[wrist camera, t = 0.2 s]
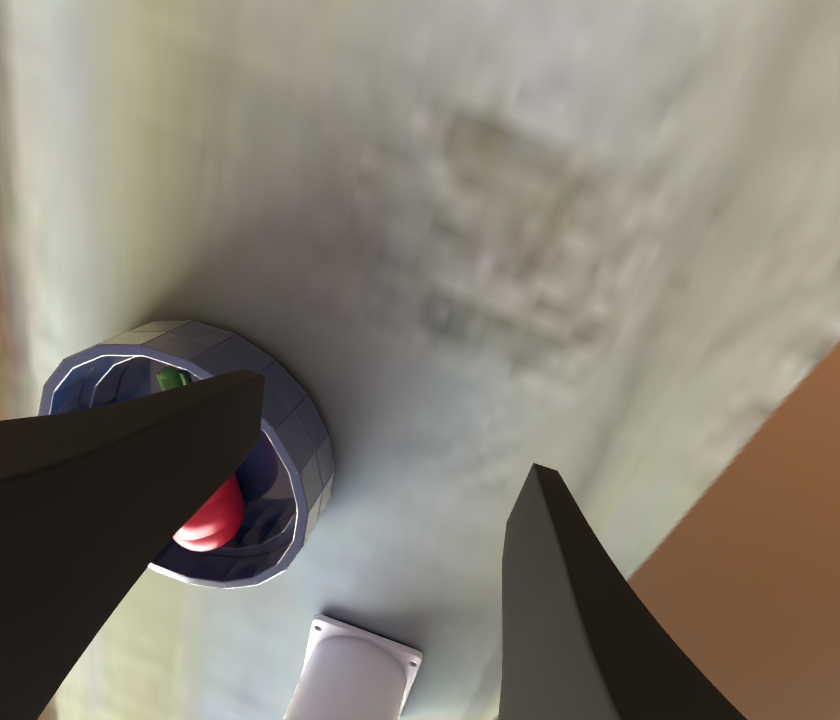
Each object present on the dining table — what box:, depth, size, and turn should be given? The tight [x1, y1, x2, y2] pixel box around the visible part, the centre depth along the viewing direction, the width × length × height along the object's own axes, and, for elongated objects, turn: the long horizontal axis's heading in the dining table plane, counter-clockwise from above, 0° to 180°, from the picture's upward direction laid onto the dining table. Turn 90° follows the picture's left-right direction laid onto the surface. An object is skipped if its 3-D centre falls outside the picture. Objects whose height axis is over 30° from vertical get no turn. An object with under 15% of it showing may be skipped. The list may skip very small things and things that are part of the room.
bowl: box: [38, 320, 335, 589], centre depth 24 cm, size 15×15×4 cm
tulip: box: [156, 367, 245, 551], centre depth 24 cm, size 11×4×4 cm, turn 6°
